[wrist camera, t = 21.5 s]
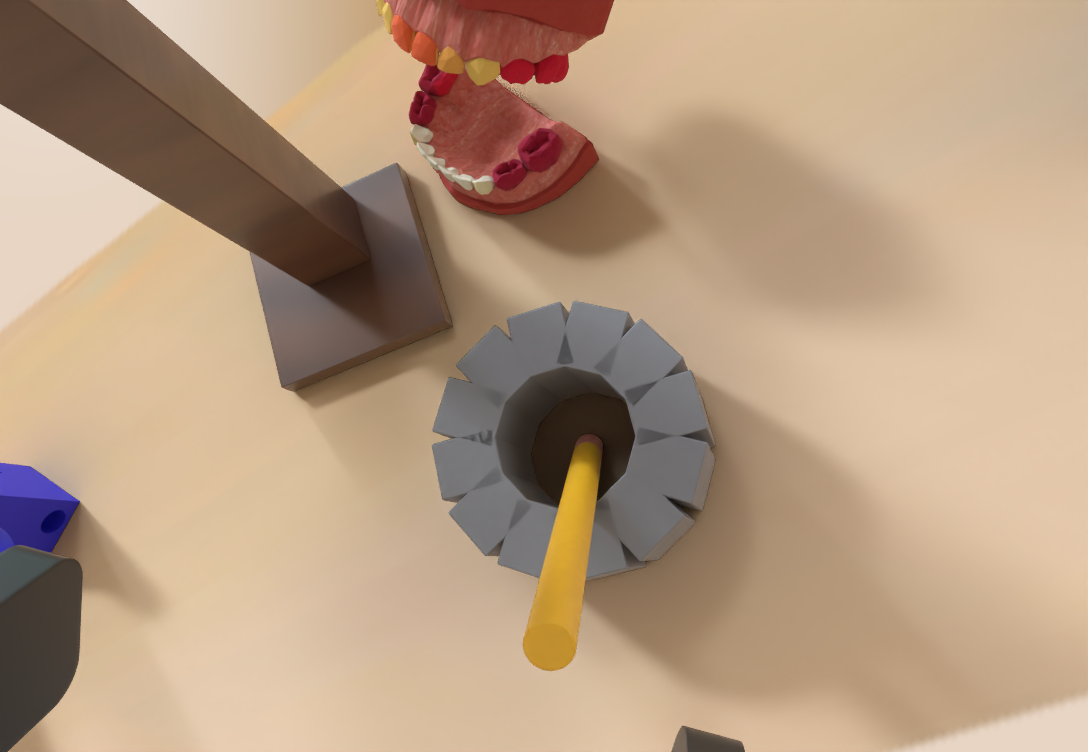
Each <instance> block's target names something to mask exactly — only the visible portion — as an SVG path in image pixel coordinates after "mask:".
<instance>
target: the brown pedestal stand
mask: <svg viewBox="0 0 1088 752" xmlns="http://www.w3.org/2000/svg"><path fill="white" fill-rule="evenodd" d="M0 104H1V105H3V106H5V107H7V108H8V109H10V110H12V111H13V112H15V113H17V114H19V115H20V116H22V117H23V118H25V119H27V120H29V121H30V122H32V123H34V124H35V125H37V126H39V127H40V128H42V129H44V130H45V131H47V132H49V133H51V134H52V135H54V136H55V137H57V138H59V139H61V140H62V141H64V142H66V143H67V144H69V145H71V146H73V147H74V148H76V149H77V150H79V151H81V152H83V153H84V154H86V155H88V156H89V157H91V158H93V159H94V160H96V161H98V162H99V163H101V164H103V165H105V166H106V167H108V168H109V169H111V170H113V171H115V172H116V173H118V174H120V175H121V176H123V177H125V178H126V179H128V180H130V181H132V182H133V183H135V184H136V185H138V186H140V187H142V188H143V189H145V190H147V191H148V192H150V193H152V194H153V195H155V196H157V197H158V198H160V199H162V200H164V201H165V202H167V203H169V204H170V205H172V206H174V207H175V208H177V209H179V210H180V211H182V212H184V213H185V214H187V215H189V216H191V217H192V218H194V219H196V220H197V221H199V222H201V223H202V224H204V225H206V226H207V227H209V228H211V229H212V230H214V231H216V232H218V233H219V234H221V235H223V236H224V237H226V238H228V239H229V240H231V241H233V242H234V243H236V244H238V245H240V246H241V247H243V248H245V249H246V250H248V251H250V255H251V259H252V264H253V268H254V272H255V276H256V281H257V285H258V289H259V293H260V298H261V302H262V306H263V310H264V315H265V319H266V323H267V327H268V332H269V336H270V340H271V344H272V349H273V353H274V357H275V361H276V366H277V370H278V374H279V378H280V383H281V387H282V388H284V389H287V390H290V391H296V390H298V389H301V388H303V387H306V386H308V385H310V384H313V383H315V382H318V381H320V380H323V379H325V378H327V377H330V376H332V375H335V374H337V373H340V372H342V371H344V370H347V369H349V368H352V367H354V366H357V365H359V364H362V363H364V362H366V361H369V360H371V359H374V358H376V357H379V356H381V355H383V354H386V353H388V352H391V351H393V350H396V349H398V348H401V347H403V346H405V345H408V344H410V343H413V342H415V341H418V340H420V339H422V338H425V337H427V336H430V335H432V334H435V333H437V332H439V331H442V330H444V329H447V328H449V327H452V322H451V319H450V315H449V312H448V309H447V306H446V302H445V299H444V296H443V293H442V289H441V286H440V283H439V280H438V276H437V273H436V270H435V267H434V263H433V260H432V257H431V253H430V250H429V247H428V244H427V240H426V237H425V234H424V231H423V227H422V224H421V221H420V218H419V214H418V211H417V208H416V205H415V201H414V198H413V195H412V192H411V188H410V185H409V182H408V178H407V175H406V172H405V171H404V170H403V169H402V168H401V166H400V165H399V164H398V163H394V164H392V165H390V166H388V167H386V168H383V169H381V170H379V171H377V172H375V173H372V174H370V175H368V176H366V177H364V178H361V179H359V180H357V181H355V182H352V183H350V184H348V185H346V186H344V187H340V186H339V185H338V184H336V183H335V182H334V181H333V180H332V179H331V178H330V177H328V176H327V175H326V174H325V173H324V172H323V171H322V170H320V169H319V168H318V167H317V166H316V165H315V164H314V163H312V162H311V161H310V160H309V159H308V158H307V157H305V156H304V155H303V154H302V153H301V152H300V151H299V150H297V149H296V148H295V147H294V146H293V145H292V144H291V143H289V142H288V141H287V140H286V139H285V138H284V137H283V136H281V135H280V134H279V133H278V132H277V131H276V130H275V129H273V128H272V127H271V126H270V125H269V124H268V123H266V122H265V121H264V120H263V119H262V118H261V117H260V116H258V115H257V114H256V113H255V112H254V111H252V109H250V108H249V107H248V106H247V105H246V104H245V103H243V102H242V101H241V100H240V99H239V98H238V97H237V96H235V95H234V94H233V93H232V92H231V91H230V90H229V89H227V88H226V87H225V86H224V85H223V84H222V83H221V82H219V81H218V80H217V79H216V78H215V77H214V76H213V75H211V74H210V73H209V72H208V71H207V70H206V69H205V68H203V67H202V66H201V65H200V64H199V63H198V62H197V61H195V60H194V59H193V58H192V57H191V56H190V55H188V54H187V53H186V52H185V51H184V50H183V49H182V48H180V47H179V46H178V45H177V44H176V43H175V42H174V41H172V40H171V39H170V38H169V37H168V36H167V35H166V34H164V33H163V32H162V31H161V30H160V29H158V27H156V26H155V25H154V24H153V23H152V22H151V21H150V20H148V19H147V18H146V17H145V16H144V15H143V14H141V13H140V12H139V11H138V10H137V9H136V8H135V7H133V6H132V5H131V4H130V3H129V2H128V1H127V0H0Z"/></svg>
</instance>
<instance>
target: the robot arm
mask: <svg viewBox="0 0 1088 752" xmlns="http://www.w3.org/2000/svg"><path fill="white" fill-rule="evenodd" d="M82 579H83V577H82V568H81V566H80V564H79V562H78V561H76V560H75V559H71V558H68V557H64V556H60V555H57V554H53V553H49V552H46V551H42V550H38V549H34V548H31V547H27V546H23V545H15V546H12V547H10V548H8V549H6V550H4V551H3V552H1V553H0V752H8V751H9V750H10V749H11V748H12V747H13V746H14V745H15V744H16V743H17V742H18V741H19V740H20V739H21V738H22V737H23V736H24V735H26V734H27V733H28V732H29V731H30V730H31V729H32V728H33V727H34V726H35V725H36V724H37V723H38V722H39V721H40V720H41V719H42V718H43V717H45V716H46V715H47V714H48V713H49V712H50V711H51V710H52V709H53V708H54V707H55V706H56V705H57V704H58V702H59V701H60V700H61V699H62V697H63V696H64V694H65V693H66V691H67V689H68V688H69V686H70V684H71V682H72V680H73V677H74V675H75V672H76V669H77V665H78V661H79V649H80V625H81V602H82ZM672 752H745V750H744V746H743V744H742V742H740V741H738V740H734V739H730V738H727V737H723V736H719V735H715V734H712V733H708V732H704V731H701V730H697V729H693V728H690V727H686V726H682V727H681V728H680V730H679V732H678V734H677V737H676V739H675V742H674V746H673V749H672Z"/></svg>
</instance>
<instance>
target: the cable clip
mask: <svg viewBox="0 0 1088 752" xmlns="http://www.w3.org/2000/svg"><path fill="white" fill-rule="evenodd" d="M79 502H80V501H78V500H77V499H76V498H74V497H73V496H71V495H70V494H68V493H67V492H66V491H64V490H63V489H61V488H60V487H59V486H57V485H56V484H54V483H53V482H51V481H50V480H49V479H47V478H46V477H44V476H43V475H42V474H40V473H39V472H37V471H36V470H34V469H33V468H32V467H30V466H22V465H14V464H6V463H0V553H1V552H3V551H4V550H6V549H8V548H10V547H12V546H15V545H23V546H27V547H31V548H34V549H38V550H42V551H46V552H49V553H51V552H52V550H53V548H54V546H55V545H56V543H57V541H58V539H59V538H60V536H61V534H62V532H63V530H64V529H65V527H66V525H67V523H68V522H69V520H70V518H71V516H72V515H73V513H74V511H75V509H76V507H77V506H78V504H79Z"/></svg>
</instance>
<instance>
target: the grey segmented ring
mask: <svg viewBox="0 0 1088 752" xmlns="http://www.w3.org/2000/svg"><path fill="white" fill-rule="evenodd" d="M507 322H508V326H509V331H510V335H511V338H510V337H509V336H508V335H506V334H505V333H504V332H503V331H502V330H501V329H500V328H498V327H497V326H496V325H495V326H494V327H493V328H492V329H491V330H490V331H489V332H488V333H487V334H486V335H485V336H484V337H483V338H482V339H481V340H480V341H479V342H478V343H477V344H476V345H475V346H474V347H473V348H472V349H471V350H470V351H469V352H468V353H467V354H466V355H465V356H464V357H463V358H462V359H461V360H460V361H459V362H458V363H457V364H456V366H457V368H458V369H459V370H460V371H461V372H462V373H463V374H464V375H465V376H466V377H467V378H468V379H469V380H470V381H471V382H468V381H464V380H460V379H456V378H452V377H449V378H448V381H447V384H446V388H445V391H444V394H443V397H442V401H441V404H440V407H439V410H438V414H437V417H436V420H435V423H434V427H433V432H435V433H438V434H441V435H443V436H446V437H449V438H451V439H449V440H446V441H442V442H439V443H435V444H433V445H432V449H433V454H434V459H435V464H436V470H437V475H438V480H439V485H440V490H441V495H442V499H443V500H445V501H451V502H457V504H456V505H455V506H454V507H453V508H452V509H451V510H450V511H449V514H450V516H451V517H452V518H453V519H454V520H455V521H456V523H457V524H458V525H459V526H460V527H461V528H462V530H463V531H464V532H465V533H466V534H467V535H468V537H469V538H470V539H471V540H472V541H473V542H474V543H475V545H476V546H477V547H478V548H479V549H480V550H481V552H482V553H483V554H484V555H485V556H499V559H498V565H501V566H504V567H507V568H510V569H513V570H516V571H519V572H523V573H526V574H529V575H532V576H535V577H538V578H540V575H541V572H542V568H543V564H544V560H545V557H546V553H547V549H548V545H549V542H550V538H551V534H552V530H553V527H554V523H555V519H556V515H557V512H558V508H559V506H558V505H557V504H556V503H555V502H554V500H553V499H552V498H551V497H550V496H549V495H548V494H547V493H546V492H545V491H544V490H543V489H542V487H541V486H540V485H539V484H538V482H537V478H536V473H535V469H534V464H533V460H532V456H531V452H532V448H533V445H534V441H535V438H536V434H537V431H538V427H539V424H540V422H541V421H542V420H543V419H544V418H545V417H546V416H547V415H548V414H549V413H550V412H551V411H552V410H553V409H554V408H555V407H556V406H557V405H558V404H559V403H560V402H561V401H562V400H565V399H569V398H572V397H576V396H579V395H583V394H586V393H590V392H594V393H598V394H602V395H606V396H610V397H614V398H618V399H622V400H623V401H624V402H625V403H626V404H627V407H628V410H629V414H630V418H631V422H632V425H633V429H634V433H635V440H634V443H633V447H632V451H631V454H630V458H629V462H628V466H627V469H626V473H625V474H624V475H623V476H622V477H621V478H620V479H619V480H618V481H617V482H616V483H615V484H614V485H613V486H612V487H611V488H610V489H609V490H608V491H607V492H606V493H605V494H604V495H603V496H602V497H601V498H600V499H599V500H597V501H596V506H595V514H594V521H593V529H592V536H591V543H590V551H589V558H588V566H587V573H586V580H592V579H598V578H602V577H606V576H611V575H615V574H619V573H623V572H627V571H631V570H635V569H639V568H644V567H646V562H645V561H648V560H659V559H660V558H661V557H662V556H663V555H664V554H665V553H666V552H667V551H668V550H669V549H670V548H671V547H672V546H673V545H674V544H675V543H676V542H677V541H678V540H679V539H680V538H681V537H682V536H683V535H684V534H685V533H686V532H687V531H688V530H689V529H690V528H691V527H692V526H693V525H694V524H695V523H696V522H695V521H694V520H693V519H692V518H691V517H690V515H689V514H688V513H687V512H686V511H685V510H684V509H683V508H682V507H681V506H685V507H688V508H692V509H696V510H699V511H702V510H703V507H704V503H705V499H706V496H707V492H708V488H709V484H710V480H711V476H712V472H713V468H714V465H715V461H716V460H715V457H714V455H713V453H712V451H711V449H710V448H712V447H715V442H714V438H713V435H712V432H711V428H710V425H709V421H708V418H707V414H706V411H705V408H704V404H703V401H702V397H701V395H700V392H699V389H698V387H697V384H696V382H695V379H694V377H693V374H692V371H691V370H689V371H688V369H687V366H686V364H685V361H684V359H683V357H682V356H681V355H680V354H679V353H678V352H677V351H675V350H674V349H673V348H672V347H671V346H670V345H669V344H668V343H667V342H666V341H665V340H664V339H662V338H661V337H660V336H659V335H658V334H657V333H656V332H655V331H654V330H653V329H652V328H651V327H650V326H648V325H647V324H646V323H645V322H644V321H643V320H642V319H640V320H639V321H638V322H637V323H636V324H635V323H634V321H633V320H632V318H631V316H630V314H629V313H628V312H625V311H620V310H615V309H611V308H606V307H601V306H597V305H592V304H587V303H583V302H578V301H573V304H572V307H571V311H570V314H569V312H568V311H567V310H566V309H565V307H564V306H563V305H562V304H561V302H557V303H554V304H551V305H548V306H544V307H541V308H538V309H535V310H532V311H528V312H525V313H522V314H519V315H516V316H512V317H509V318H507ZM680 505H681V506H680Z"/></svg>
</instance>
